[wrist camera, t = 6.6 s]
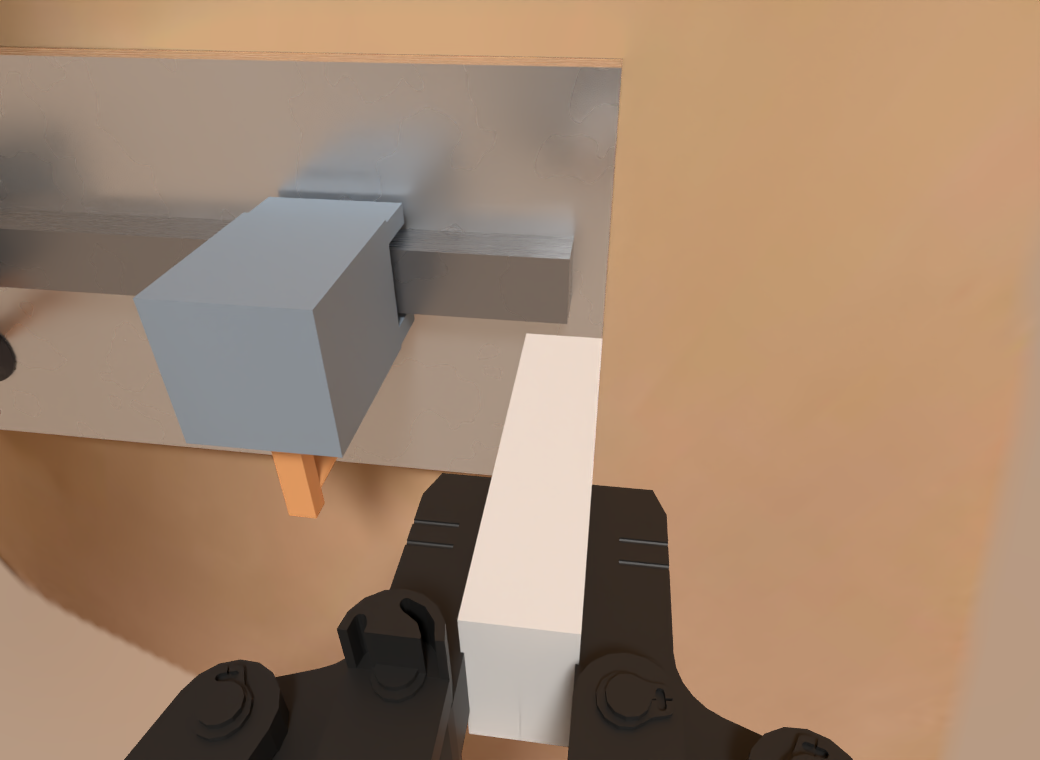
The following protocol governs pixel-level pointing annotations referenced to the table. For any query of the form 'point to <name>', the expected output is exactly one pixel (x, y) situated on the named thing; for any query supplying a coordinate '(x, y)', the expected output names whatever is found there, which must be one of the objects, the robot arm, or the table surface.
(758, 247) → the table surface
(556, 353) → the robot arm
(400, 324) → the slider
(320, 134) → the bolt plate
